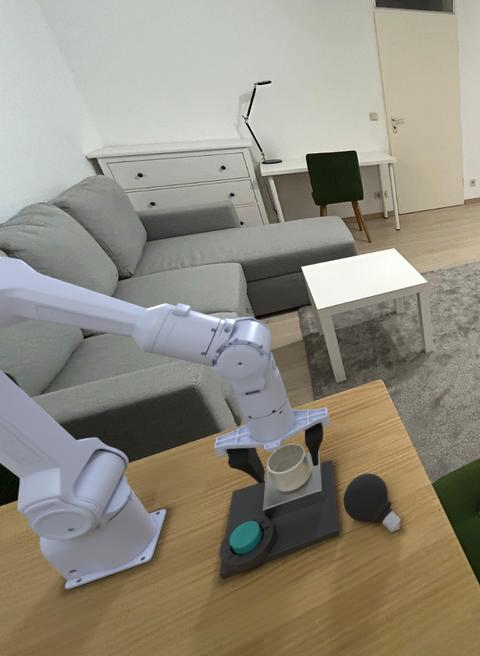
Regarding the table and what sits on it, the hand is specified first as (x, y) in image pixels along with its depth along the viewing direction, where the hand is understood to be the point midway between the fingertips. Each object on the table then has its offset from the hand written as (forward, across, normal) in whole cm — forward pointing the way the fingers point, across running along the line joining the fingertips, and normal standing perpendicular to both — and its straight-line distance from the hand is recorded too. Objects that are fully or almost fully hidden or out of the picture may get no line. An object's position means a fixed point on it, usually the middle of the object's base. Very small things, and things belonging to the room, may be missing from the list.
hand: (289, 468), depth 60 cm
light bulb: (+6, +11, -8) cm, 15 cm away
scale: (+6, -2, -3) cm, 7 cm away
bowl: (+2, 0, 0) cm, 2 cm away
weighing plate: (+6, 0, 0) cm, 6 cm away
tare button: (+3, -6, -7) cm, 10 cm away
